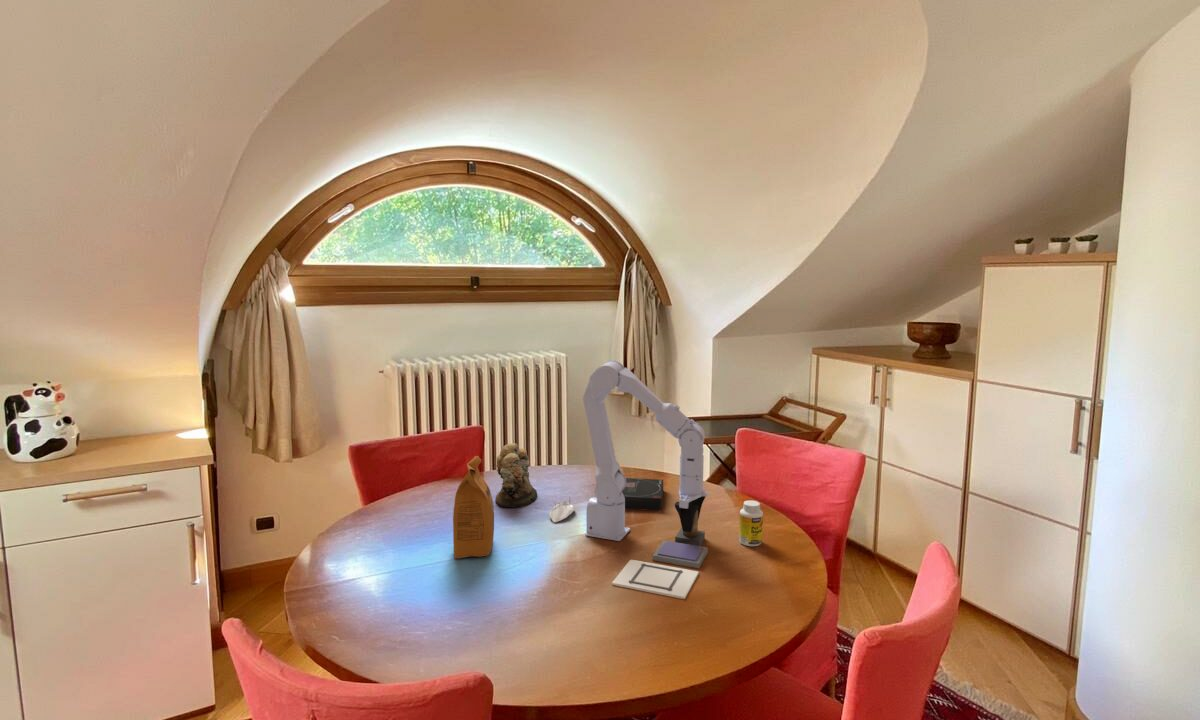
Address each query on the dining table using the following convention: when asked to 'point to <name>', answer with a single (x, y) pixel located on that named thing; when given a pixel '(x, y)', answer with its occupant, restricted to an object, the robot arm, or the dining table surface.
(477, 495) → the coffee package
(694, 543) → the stamp
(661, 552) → the ink pad
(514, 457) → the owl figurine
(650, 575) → the marked board
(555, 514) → the pincushion
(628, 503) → the portable cd player
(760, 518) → the supplement bottle
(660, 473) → the dining table surface
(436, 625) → the dining table surface
